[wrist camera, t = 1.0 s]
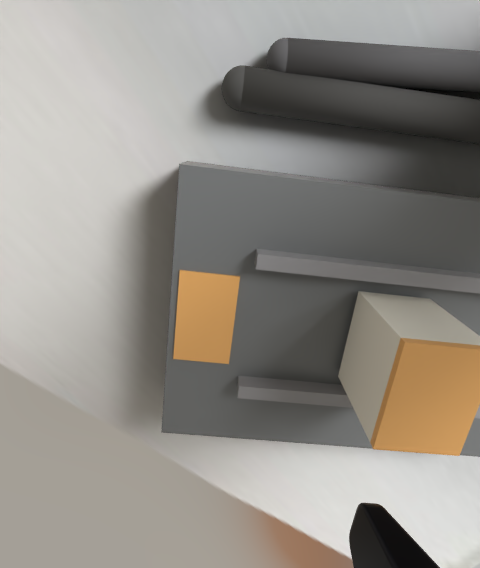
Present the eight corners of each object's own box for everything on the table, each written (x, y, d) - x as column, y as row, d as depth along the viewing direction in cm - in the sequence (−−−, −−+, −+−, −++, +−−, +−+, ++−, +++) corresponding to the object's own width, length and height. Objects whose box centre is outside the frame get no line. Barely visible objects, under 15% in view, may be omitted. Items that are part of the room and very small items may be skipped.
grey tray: (572, 209, 18) (658, 225, 14) (486, 419, 22) (537, 473, 18) (187, 161, 17) (176, 165, 13) (170, 393, 21) (158, 444, 17)
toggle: (429, 298, 16) (500, 351, 12) (404, 382, 17) (459, 455, 13) (358, 291, 15) (405, 342, 11) (338, 376, 17) (373, 449, 13)
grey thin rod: (611, 65, 16) (645, 58, 15) (598, 102, 16) (631, 98, 15) (266, 42, 15) (270, 32, 14) (263, 81, 16) (267, 75, 14)
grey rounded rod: (582, 118, 17) (618, 116, 15) (567, 157, 17) (600, 158, 16) (224, 67, 16) (223, 58, 14) (220, 110, 16) (219, 106, 15)
